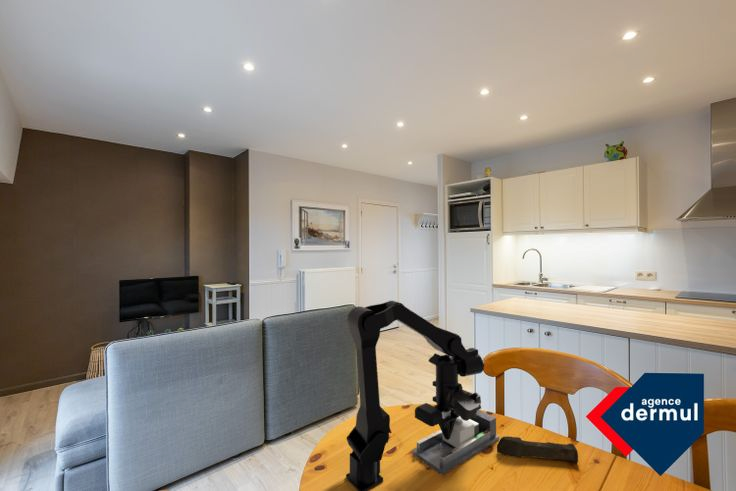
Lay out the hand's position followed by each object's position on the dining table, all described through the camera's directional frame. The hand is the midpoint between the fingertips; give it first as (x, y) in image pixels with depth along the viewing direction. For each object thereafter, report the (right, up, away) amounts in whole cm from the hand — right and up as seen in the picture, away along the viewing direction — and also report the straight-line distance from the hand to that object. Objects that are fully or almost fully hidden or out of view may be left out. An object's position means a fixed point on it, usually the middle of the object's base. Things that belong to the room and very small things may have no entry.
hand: (447, 438), depth 85 cm
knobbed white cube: (+4, -2, +3) cm, 5 cm away
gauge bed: (+3, -4, +3) cm, 6 cm away
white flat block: (+7, -2, +5) cm, 9 cm away
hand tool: (+22, -4, -2) cm, 23 cm away
